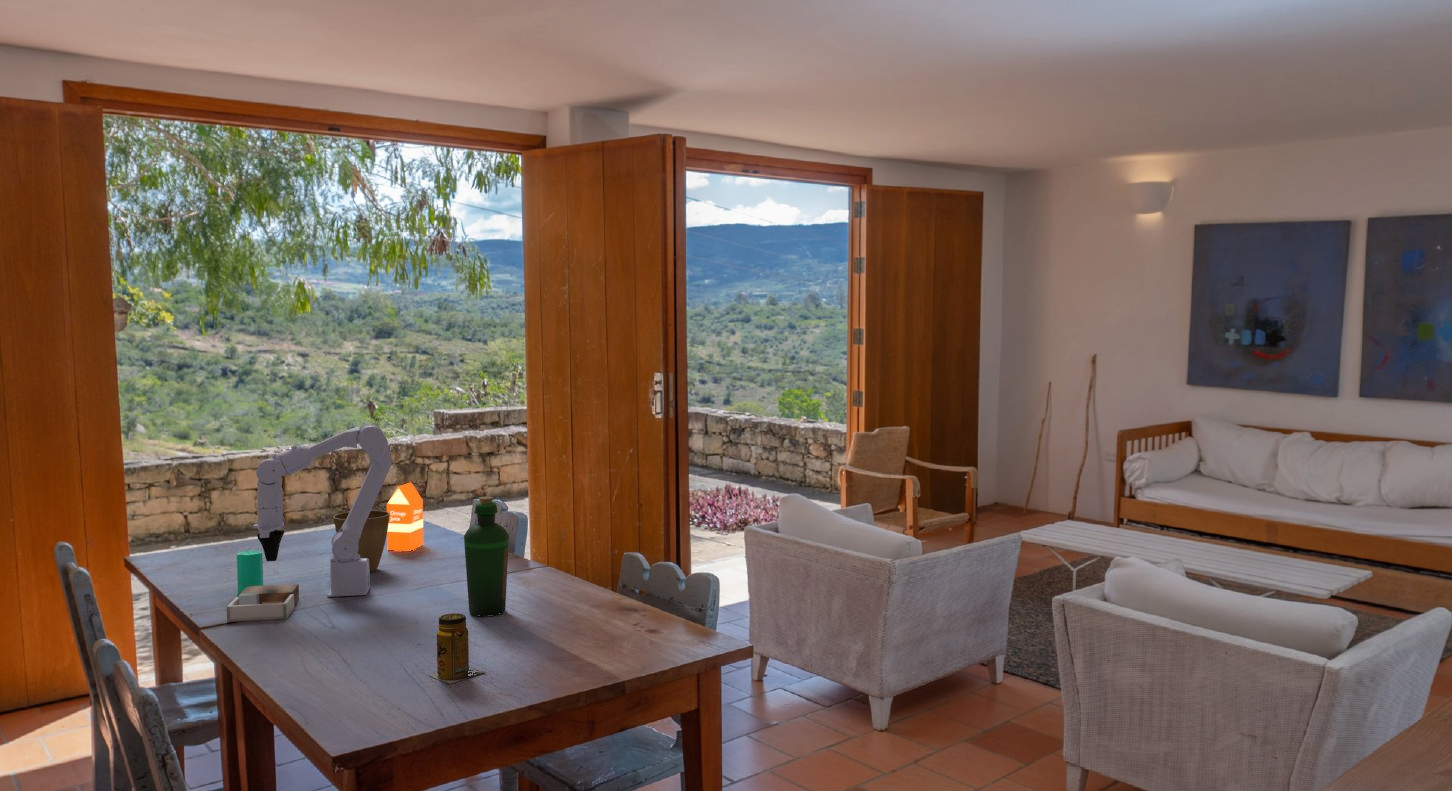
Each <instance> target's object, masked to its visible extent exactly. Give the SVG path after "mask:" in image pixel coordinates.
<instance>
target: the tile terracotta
mask: <svg viewBox="0 0 1452 791" xmlns="http://www.w3.org/2000/svg"><path fill="white" fill-rule="evenodd" d="M274 603H283V602H281V601H275V602H262V604H274Z"/></svg>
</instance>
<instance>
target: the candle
mask: <svg viewBox="0 0 1452 791" xmlns="http://www.w3.org/2000/svg"><path fill="white" fill-rule="evenodd" d="M250 548H251V547H250V546H248V550H244V551H240V552H238V553H236V571H237V572H236V575H237V577H236V580H237V595H238V596H239V594H240V593H241V592H242V591H243V590H244V589H245V588H246V587H247V586H264V568H263V567H264V565H263V564H264V563H263V562H264V561H263V552H262V550H253V549H250Z"/></svg>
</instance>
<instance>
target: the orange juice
mask: <svg viewBox="0 0 1452 791" xmlns="http://www.w3.org/2000/svg"><path fill="white" fill-rule="evenodd" d="M423 501H424V499H423V498H422V497H421V495H420V494H419V492H418V490H417V489H416V488H415V486H414V485H413V482H411V481H410V482H407V483H404V484H401V485H398V486H397V488H396V489H395V491H394V493H393V494H392V496H391V497H390V499H389V500H388V502H386V512H389V513H390V517H389V524H388V531H387V536H386V542H387V543H386V544H387V545H386V546H387V550H394V551H393V552H401V551H411V550H413V551H415V550H417V549H416V548H417V547H420V546H421V545H423V546H424V506H423V504H424V503H423ZM420 548H421V547H420ZM414 549H415V550H414ZM411 552H412V551H411Z"/></svg>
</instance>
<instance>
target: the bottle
mask: <svg viewBox="0 0 1452 791" xmlns="http://www.w3.org/2000/svg"><path fill="white" fill-rule="evenodd" d="M478 499H479V501H478V502H476V503H475V507H474V514H476V518H477V523H475V524H473V525H472V526H470V527H469V528H468V529H467V530H466V532H465V533H464V535H463V542H464V555H465V557H464V558H465V570H466V571H465V572H466V574H465V575H466V583H467V584H466V586H467V599H468V600H467V601H468V611H469V614H471V615H473V616H476V615H480V616H479V617H484V616H486V617H489V616H488V615H494V616H497V615H496V614H498V615H500V614H502V613H504V612H505V611H506V606H507V605H506V604H507V587H508V586H507V585H508V584H507V582H508V565H509V564H508V563H509V562H508V561H509V560H508V559H509V542H510V541H509V540H510V538H509V537H510V536H509V533H508V532H507V530H506V529H505V528H504V526H502V525H501V524H499V523H497V522H496V514H497V513H499V511H498V507H497V502H495V501H494V500H493V499H494V497H493V496H480V497H478ZM499 613H500V614H499Z"/></svg>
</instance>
